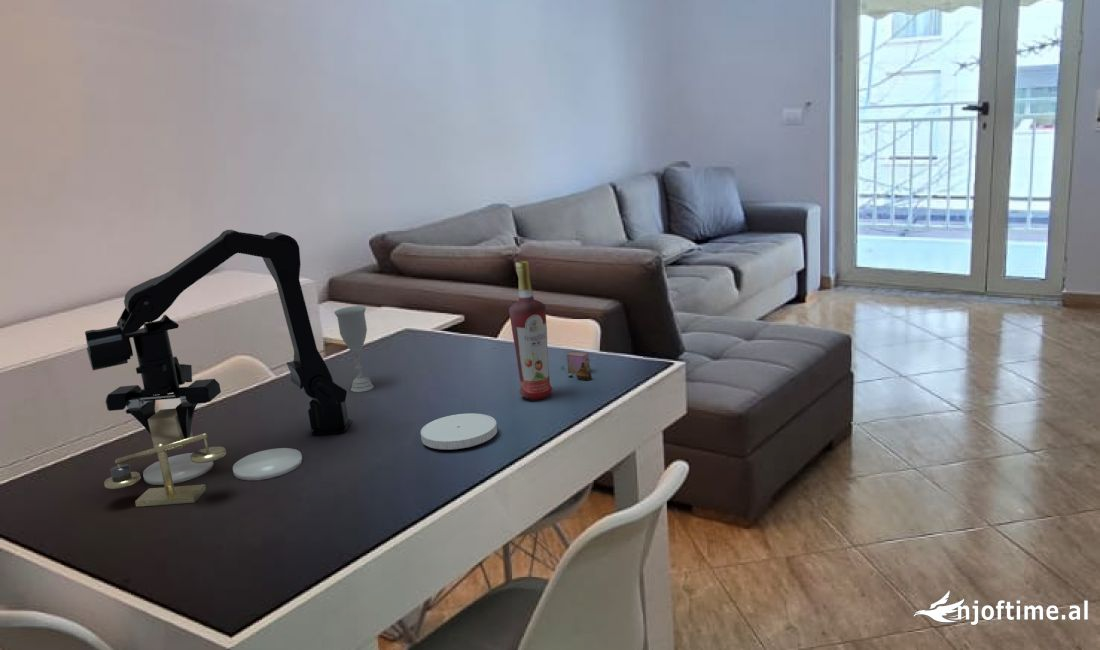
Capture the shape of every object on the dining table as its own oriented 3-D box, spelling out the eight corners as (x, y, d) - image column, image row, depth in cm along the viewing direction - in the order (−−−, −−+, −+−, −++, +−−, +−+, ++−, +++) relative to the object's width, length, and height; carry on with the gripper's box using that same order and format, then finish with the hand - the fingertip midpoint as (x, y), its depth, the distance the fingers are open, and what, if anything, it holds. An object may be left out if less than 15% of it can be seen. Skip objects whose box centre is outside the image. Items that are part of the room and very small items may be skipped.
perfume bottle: (552, 380, 200) (550, 360, 199) (582, 363, 210) (580, 344, 209) (599, 386, 194) (597, 365, 193) (628, 368, 203) (626, 349, 202)
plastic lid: (406, 445, 171) (405, 432, 171) (462, 421, 181) (461, 408, 180) (457, 460, 162) (455, 447, 161) (513, 434, 172) (512, 421, 171)
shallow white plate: (310, 450, 172) (309, 445, 172) (290, 477, 161) (289, 472, 161) (247, 455, 173) (246, 450, 173) (223, 482, 162) (222, 477, 161)
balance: (238, 486, 159) (226, 426, 156) (226, 501, 154) (213, 438, 151) (119, 495, 161) (105, 435, 158) (103, 509, 155) (88, 448, 152)
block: (193, 438, 170) (186, 407, 169) (181, 448, 165) (174, 417, 164) (167, 440, 170) (160, 409, 169) (154, 450, 166) (147, 419, 164)
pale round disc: (223, 455, 174) (222, 450, 174) (197, 482, 163) (196, 477, 163) (162, 460, 175) (161, 455, 175) (131, 487, 164) (130, 482, 163)
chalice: (370, 393, 203) (358, 313, 198) (341, 394, 204) (328, 315, 200) (382, 382, 210) (371, 305, 205) (354, 383, 211) (342, 306, 207)
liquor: (526, 405, 185) (511, 268, 178) (513, 395, 192) (498, 263, 185) (560, 397, 188) (546, 261, 181) (545, 388, 195) (532, 257, 187)
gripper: (224, 340, 171) (239, 419, 175) (126, 348, 172) (144, 427, 176) (199, 357, 160) (216, 441, 164) (95, 366, 161) (114, 449, 165)
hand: (173, 439), depth 168 cm, fingers closed on block, 5 cm apart
